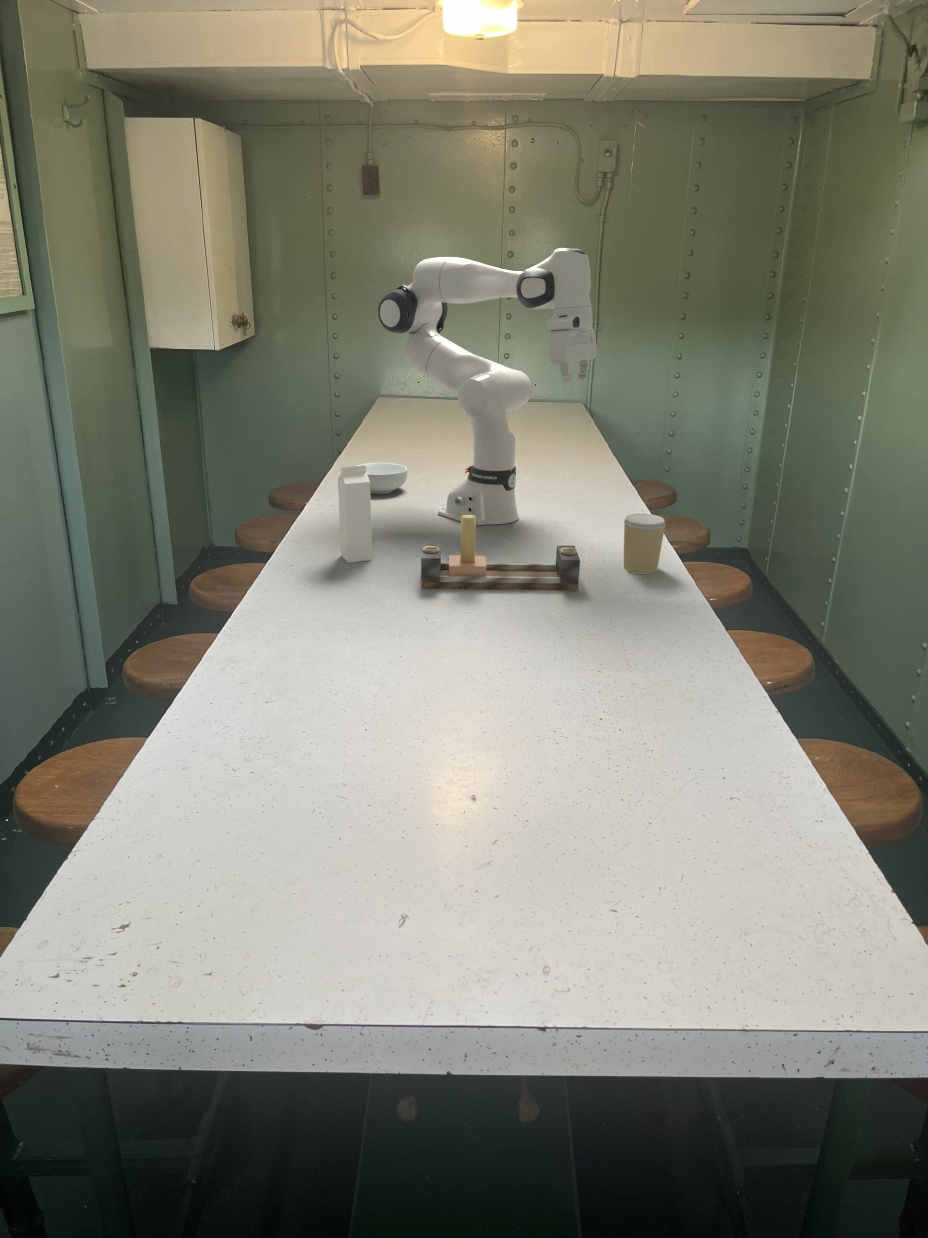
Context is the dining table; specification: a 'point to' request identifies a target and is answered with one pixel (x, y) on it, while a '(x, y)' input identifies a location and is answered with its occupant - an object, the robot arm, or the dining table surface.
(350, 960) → the dining table surface
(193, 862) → the dining table surface
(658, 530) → the coffee cup
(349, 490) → the milk
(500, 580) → the rail track
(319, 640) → the dining table surface
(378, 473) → the cereal bowl
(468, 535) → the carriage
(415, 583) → the dining table surface
